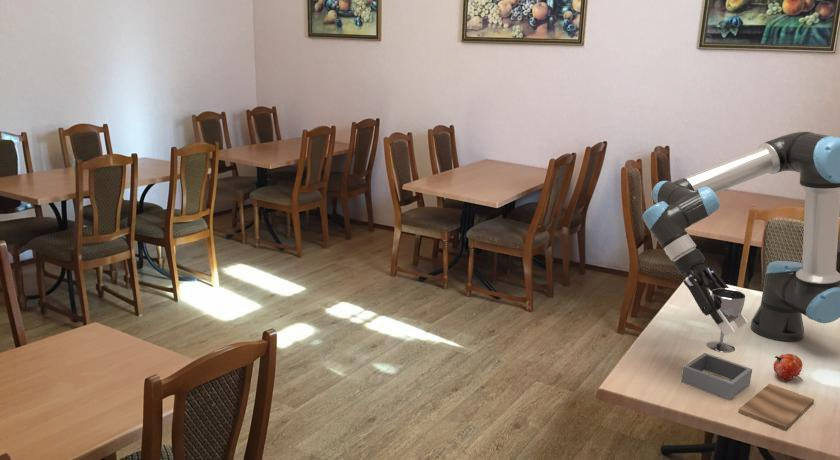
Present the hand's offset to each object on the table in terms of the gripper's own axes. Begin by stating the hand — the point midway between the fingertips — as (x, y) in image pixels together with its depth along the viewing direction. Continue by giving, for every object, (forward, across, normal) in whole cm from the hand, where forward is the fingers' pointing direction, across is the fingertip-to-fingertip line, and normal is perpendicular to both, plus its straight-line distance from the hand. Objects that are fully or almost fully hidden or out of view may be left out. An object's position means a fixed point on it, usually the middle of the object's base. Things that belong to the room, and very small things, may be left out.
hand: (736, 329), depth 181 cm
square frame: (+10, 0, -14) cm, 17 cm away
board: (+21, +1, -3) cm, 21 cm away
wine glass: (+2, 0, -7) cm, 7 cm away
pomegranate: (+18, -18, -6) cm, 26 cm away
